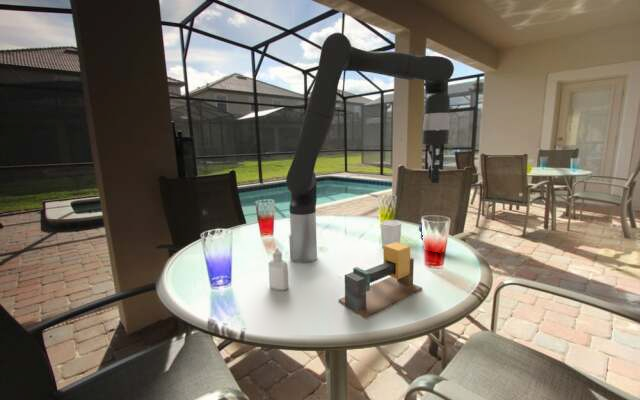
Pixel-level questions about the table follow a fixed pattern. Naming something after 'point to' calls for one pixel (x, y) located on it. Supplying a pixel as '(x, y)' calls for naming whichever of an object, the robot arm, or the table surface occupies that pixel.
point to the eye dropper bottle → (278, 272)
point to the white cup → (390, 232)
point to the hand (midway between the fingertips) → (433, 181)
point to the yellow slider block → (398, 258)
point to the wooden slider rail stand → (376, 289)
